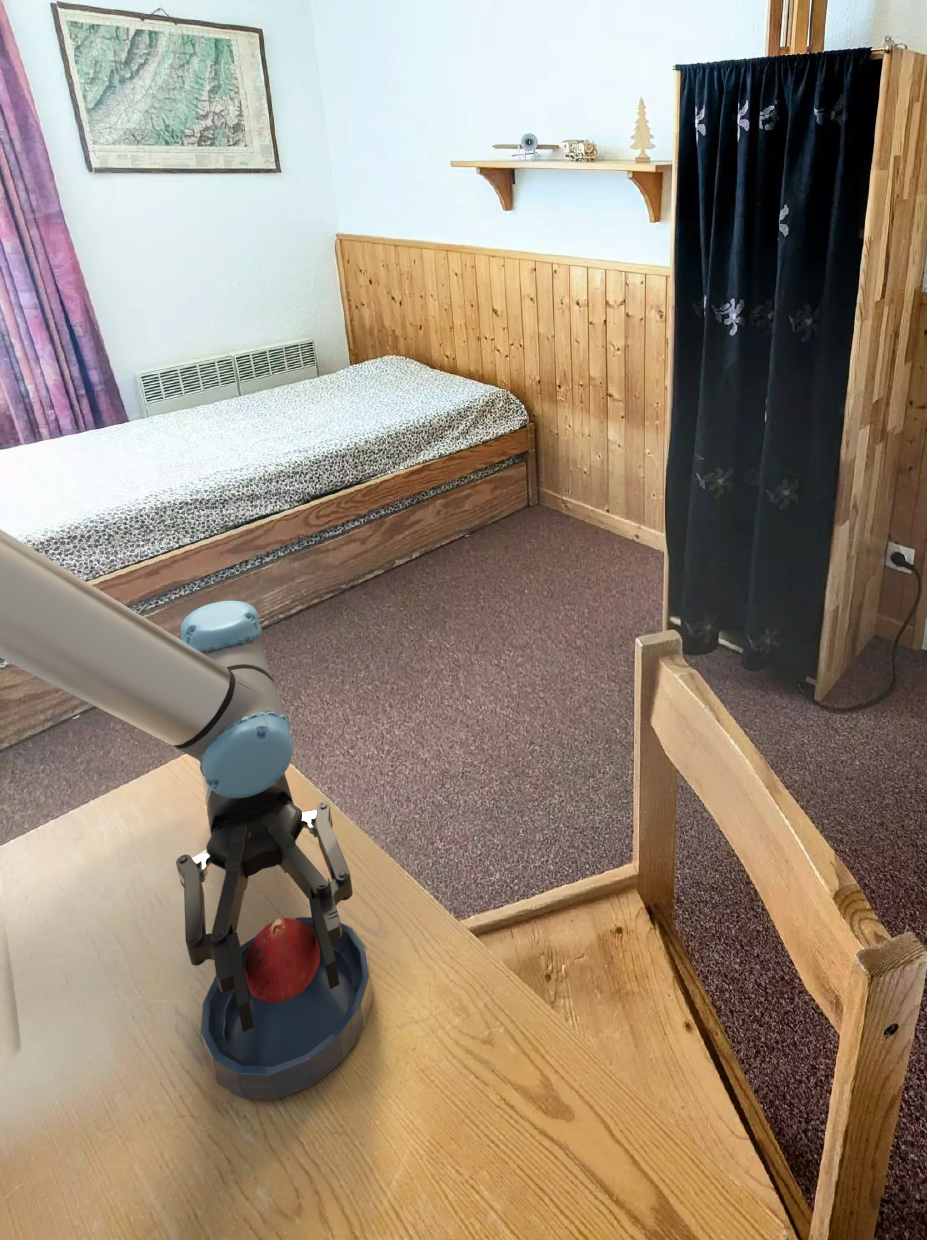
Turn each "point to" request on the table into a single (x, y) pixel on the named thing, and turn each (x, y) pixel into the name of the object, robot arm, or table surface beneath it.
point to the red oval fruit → (282, 960)
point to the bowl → (289, 1027)
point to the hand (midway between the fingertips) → (290, 995)
